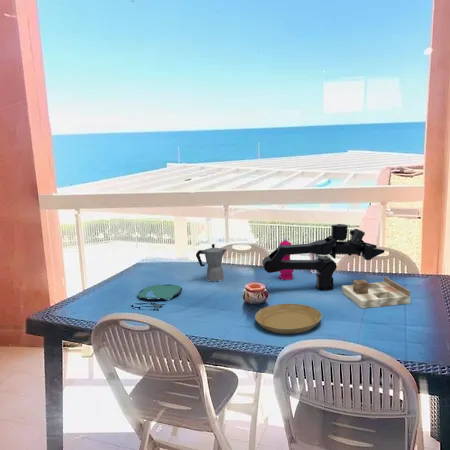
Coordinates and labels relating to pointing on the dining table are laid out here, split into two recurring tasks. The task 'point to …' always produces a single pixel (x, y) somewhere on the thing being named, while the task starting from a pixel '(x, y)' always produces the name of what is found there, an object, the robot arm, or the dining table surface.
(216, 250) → the coffeepot
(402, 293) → the beige sorting tray
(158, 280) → the dining table surface
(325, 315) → the dining table surface
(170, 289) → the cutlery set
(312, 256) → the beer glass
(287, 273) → the pepper mill
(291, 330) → the plant saucer
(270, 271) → the robot arm
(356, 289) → the walnut block
